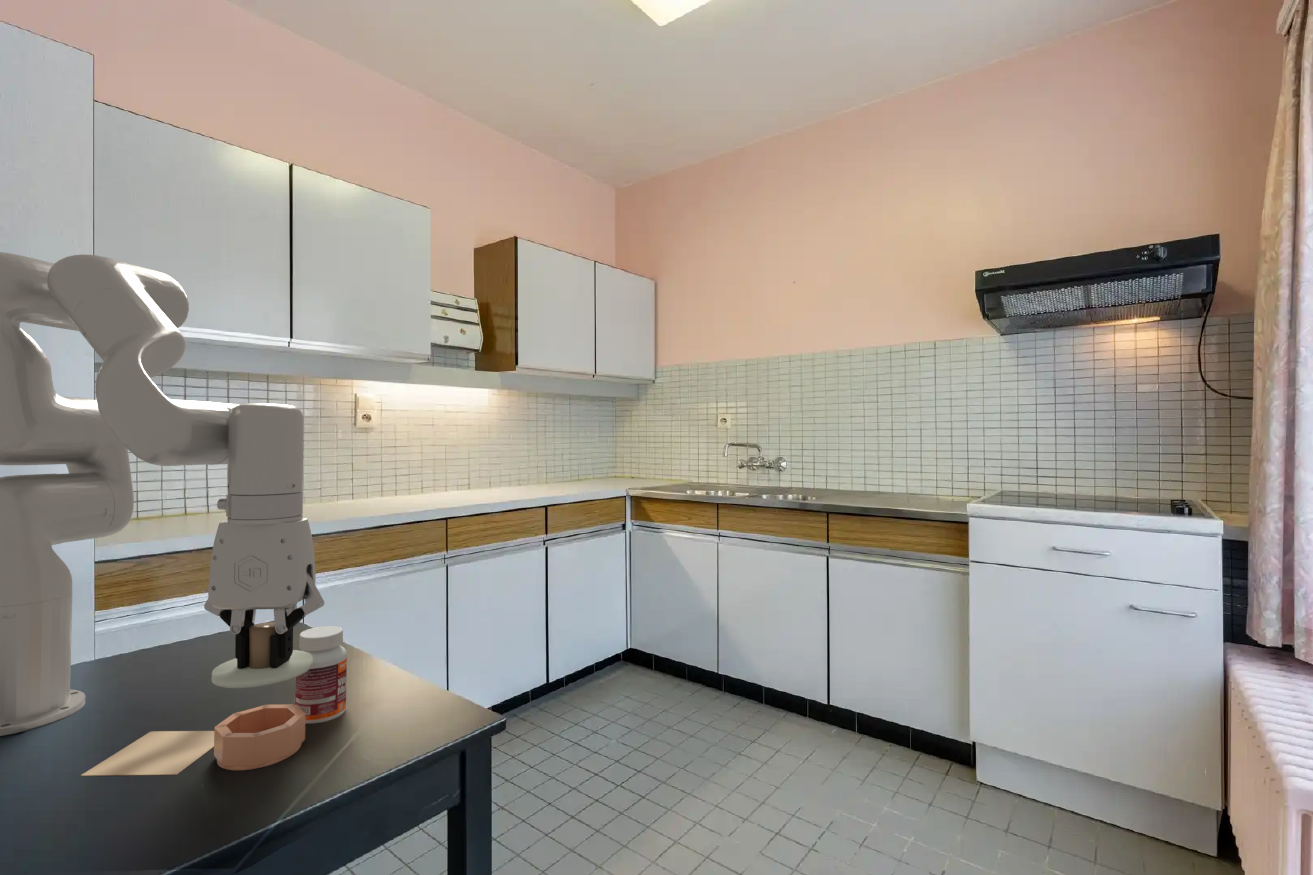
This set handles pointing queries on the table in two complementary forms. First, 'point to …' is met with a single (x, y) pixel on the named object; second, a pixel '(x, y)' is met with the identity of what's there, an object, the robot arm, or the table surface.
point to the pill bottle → (322, 675)
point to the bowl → (259, 736)
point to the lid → (260, 663)
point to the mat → (157, 754)
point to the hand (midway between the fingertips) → (264, 662)
